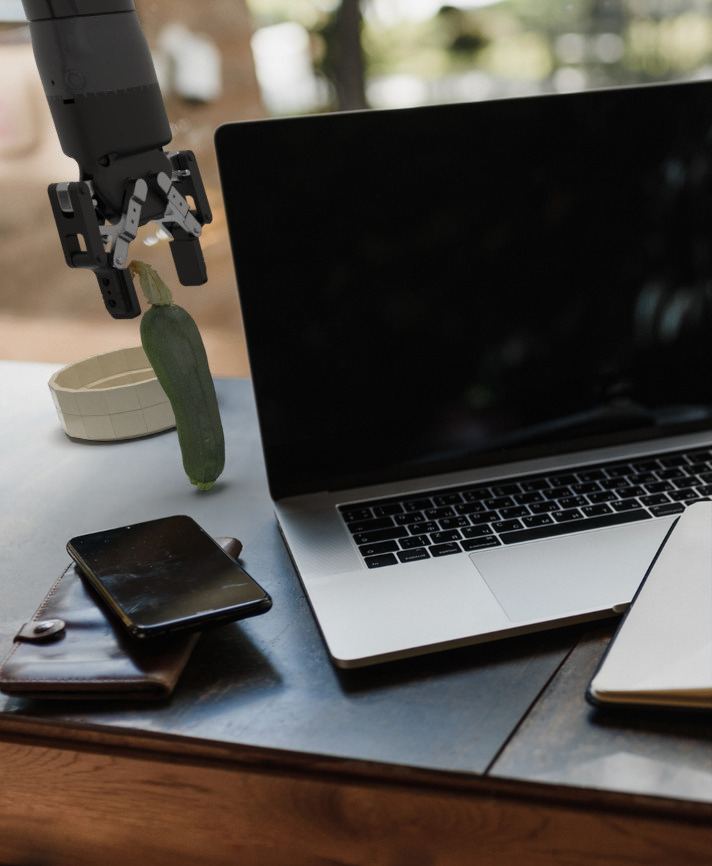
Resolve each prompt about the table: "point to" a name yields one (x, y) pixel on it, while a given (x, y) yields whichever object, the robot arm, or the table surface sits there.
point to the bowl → (111, 397)
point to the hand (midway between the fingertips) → (162, 300)
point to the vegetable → (182, 378)
